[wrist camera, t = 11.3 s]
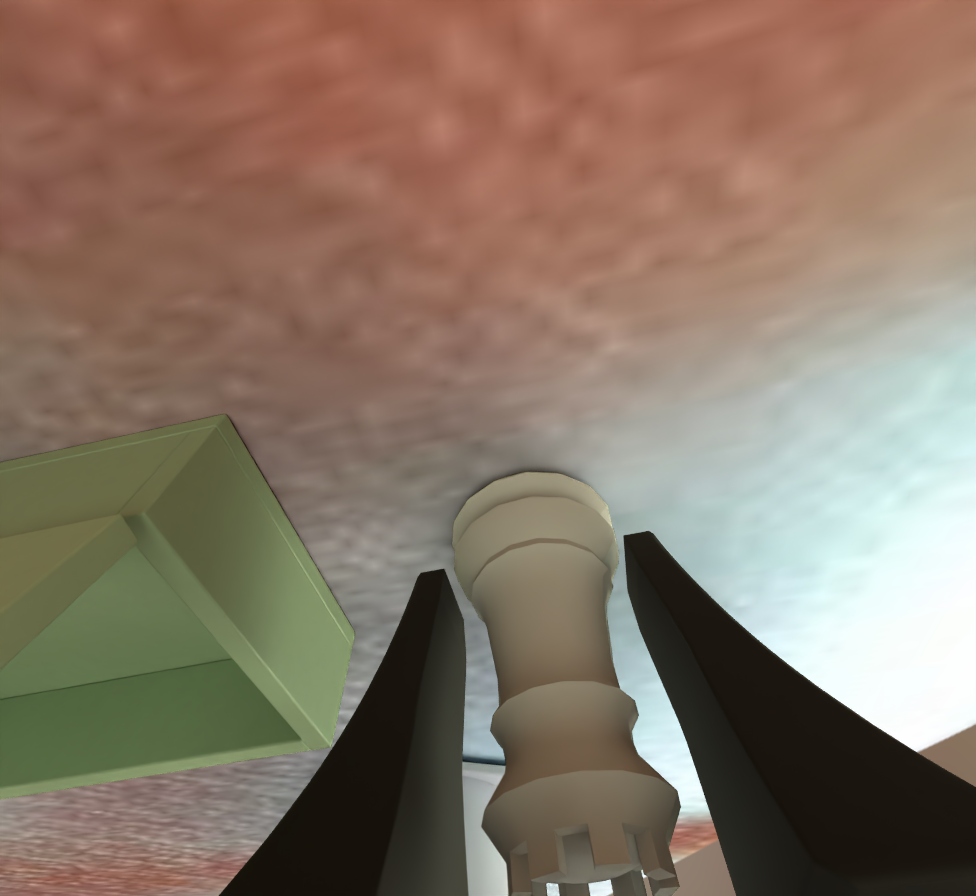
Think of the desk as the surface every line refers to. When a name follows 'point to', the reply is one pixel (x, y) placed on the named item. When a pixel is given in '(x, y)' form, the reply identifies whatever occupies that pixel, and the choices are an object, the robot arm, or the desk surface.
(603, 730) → the rook chess piece
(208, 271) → the desk surface
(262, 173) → the desk surface
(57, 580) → the lid
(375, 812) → the robot arm
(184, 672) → the chest
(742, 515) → the desk surface
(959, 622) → the desk surface
